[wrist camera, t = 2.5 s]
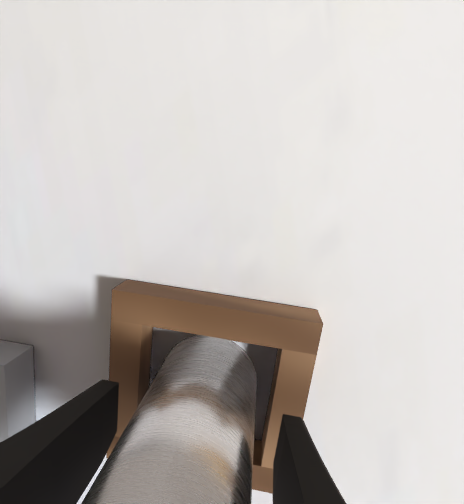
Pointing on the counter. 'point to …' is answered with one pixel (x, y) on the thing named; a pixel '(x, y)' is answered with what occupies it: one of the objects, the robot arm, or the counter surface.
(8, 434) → the frame
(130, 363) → the socket frame
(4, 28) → the counter surface
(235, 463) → the grey thick round cylinder
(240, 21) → the counter surface
